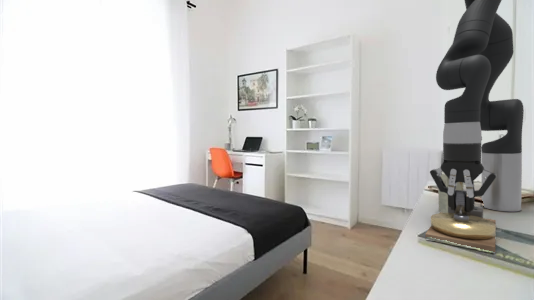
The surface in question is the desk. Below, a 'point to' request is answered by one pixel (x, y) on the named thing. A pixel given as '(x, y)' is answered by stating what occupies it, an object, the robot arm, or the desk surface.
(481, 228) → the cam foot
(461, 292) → the desk surface
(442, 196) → the skincare box
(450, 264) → the desk surface
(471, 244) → the tan piece
